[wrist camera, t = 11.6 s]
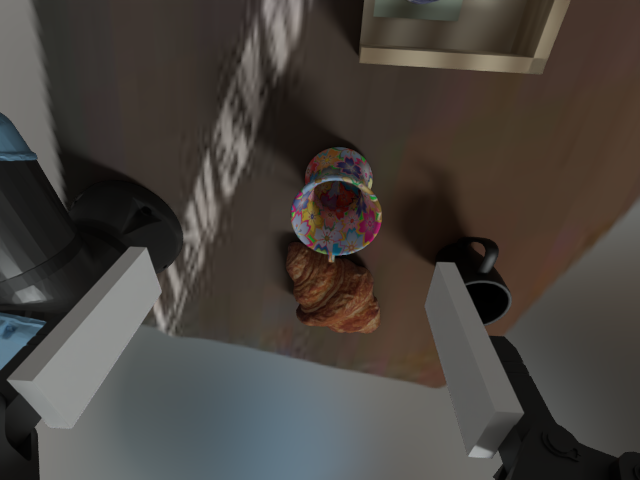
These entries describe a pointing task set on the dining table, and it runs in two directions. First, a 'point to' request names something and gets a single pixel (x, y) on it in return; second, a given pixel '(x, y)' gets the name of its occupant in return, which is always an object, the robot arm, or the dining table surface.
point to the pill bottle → (421, 1)
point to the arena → (461, 34)
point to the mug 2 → (479, 277)
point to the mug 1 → (337, 204)
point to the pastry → (332, 291)
